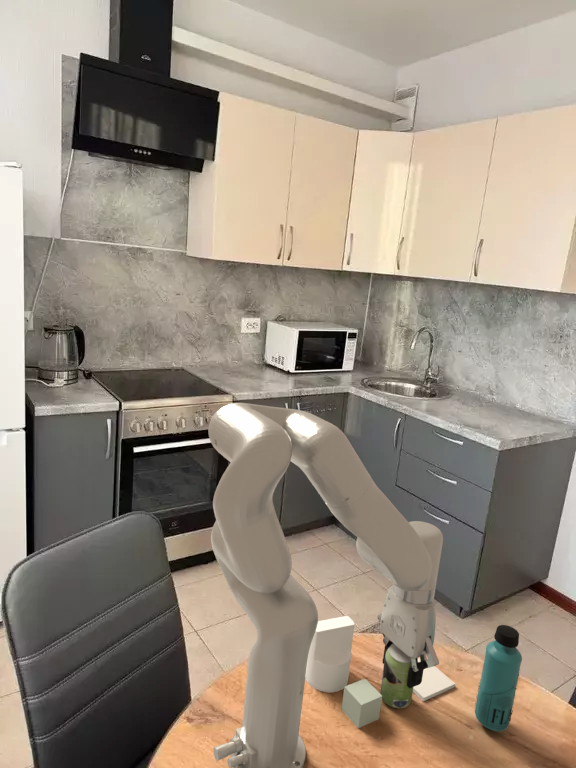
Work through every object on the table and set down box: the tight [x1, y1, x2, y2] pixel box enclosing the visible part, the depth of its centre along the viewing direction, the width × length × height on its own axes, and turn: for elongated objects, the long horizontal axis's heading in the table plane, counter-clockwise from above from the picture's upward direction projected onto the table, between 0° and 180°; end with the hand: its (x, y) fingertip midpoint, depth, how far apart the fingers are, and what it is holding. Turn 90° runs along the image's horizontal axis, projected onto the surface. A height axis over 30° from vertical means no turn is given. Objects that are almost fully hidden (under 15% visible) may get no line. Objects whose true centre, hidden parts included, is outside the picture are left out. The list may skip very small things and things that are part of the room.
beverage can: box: [379, 643, 414, 709], centre depth 107 cm, size 6×7×12 cm
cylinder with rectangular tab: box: [305, 615, 355, 693], centre depth 112 cm, size 9×9×12 cm
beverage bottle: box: [474, 624, 523, 732], centre depth 103 cm, size 6×7×20 cm
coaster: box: [413, 657, 456, 702], centre depth 115 cm, size 9×9×1 cm
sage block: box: [341, 678, 383, 729], centre depth 104 cm, size 5×5×5 cm
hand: (401, 672), depth 106 cm, fingers closed on beverage can, 6 cm apart
